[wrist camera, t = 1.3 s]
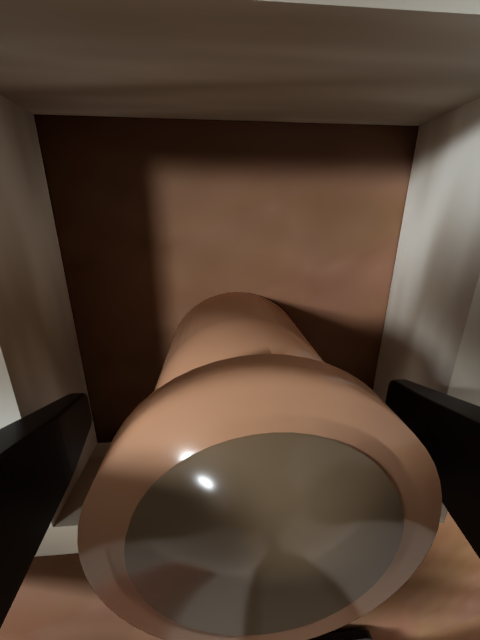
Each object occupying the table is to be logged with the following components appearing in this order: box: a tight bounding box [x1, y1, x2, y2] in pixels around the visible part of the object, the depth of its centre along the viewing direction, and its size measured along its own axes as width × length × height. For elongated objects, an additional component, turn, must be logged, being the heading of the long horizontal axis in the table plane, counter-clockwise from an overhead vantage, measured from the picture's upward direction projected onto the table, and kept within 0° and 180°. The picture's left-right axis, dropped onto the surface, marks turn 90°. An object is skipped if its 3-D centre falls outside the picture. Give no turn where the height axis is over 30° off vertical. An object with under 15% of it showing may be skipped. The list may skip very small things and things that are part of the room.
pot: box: [77, 292, 442, 640], centre depth 8 cm, size 6×6×7 cm
